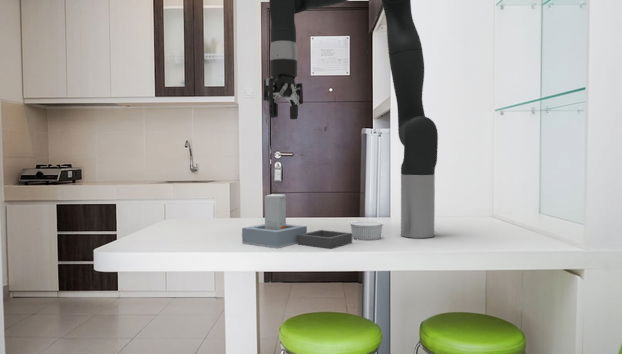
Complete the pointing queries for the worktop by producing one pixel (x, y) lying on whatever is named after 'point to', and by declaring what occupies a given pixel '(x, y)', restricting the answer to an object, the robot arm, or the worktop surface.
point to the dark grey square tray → (325, 239)
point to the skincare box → (275, 212)
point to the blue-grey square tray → (272, 235)
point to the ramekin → (366, 230)
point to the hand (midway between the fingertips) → (284, 118)
